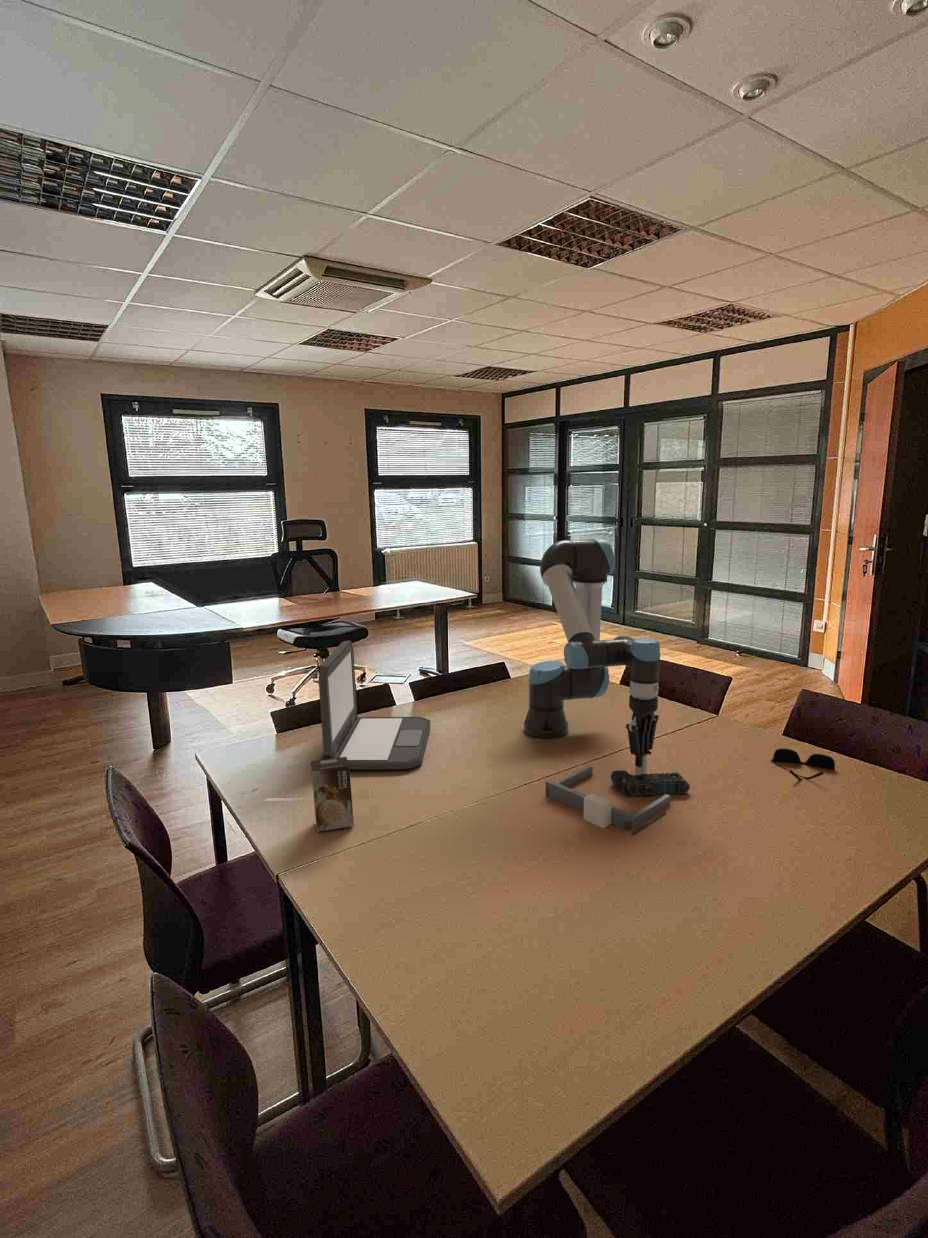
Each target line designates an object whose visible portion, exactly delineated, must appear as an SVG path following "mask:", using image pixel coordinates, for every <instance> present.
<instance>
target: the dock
mask: <svg viewBox="0 0 928 1238" xmlns="http://www.w3.org/2000/svg"><path fill="white" fill-rule="evenodd" d="M593 768H594V767H593V766H592V765H590V764H589V765H587V766H585V767H583V768H581V769H579V770H577V771H574V772H572V773H571V774H568V775H567V776H564V777H562V778H561V779H559V780H556V781H553V780H552V779H548V780H546V781H545V796H547V797H548V798H550V799H553V800H555V801H558V802H560V803H562V804H565V805H567V806H569V807H571V808H573V809H575V810H577V811H580V812H582V813H583V820H584V821H586V822H589V823H591V824H593V825H595V826H597V827H600V828H602V829H604V828H606V827H608V826H609V825H613V826H616V827H618V828H619V829H620V828H621V829H622V830H625V831H627V832H629V831H630V830H632V829H634V828H635V827H637V826H638V825H639V824H641V823H642V822H644V821H646V820H647V819H649V818H651V817H652V816H653V815H654V814H657V813H658V812H660V811H661V810H663V809H664V808H665V807H668V806H669V805H670V804H671V794H666V793H665V794H664V795H662V796H661V797H659V798H658V799H656V800H654V801H653V802H651V803H650V804H648V805H646V806H645V807H643V808H642V809H640V810H638V811H637V812H635V813H633V814H632V813H630V812H628V811H625V810H623V809H621V808H618V807H616V806H613V805H612V804H613V803H612V802H613V801H611V800H609V799H606V798H604V797H601V796H598V795H596V794H594V793H589V794H588V795H587V794H584V793H583V792H580V791H577V790H575V789H573V788H570V787H572V786H573V785H575V784H577V783H580V782H581V781H583V780H584V779H585V780H586V779H587V778H588V777H590V776H593V774H594V773H593V770H594V769H593ZM666 814H667V812H666V811H665V810H664V811H663V812H661V813H660V814H658V815H656V816H654V817H653V818H652V819H650V820H649V821H646V822H645V823H644V824H642V825H641V826H639V827H638V828H636V829H635V830H634V831H631V833H630V834H631V836H635V835H637V834H638V833H640V832H641V831H642V830H644V829H646V828H647V827H649V826H650V825H652V824H653V823H655V822H656V821H658V820H659V819H661V818H662V817H663V816H665V815H666Z"/></svg>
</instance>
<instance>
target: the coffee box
mask: <svg viewBox="0 0 928 1238" xmlns="http://www.w3.org/2000/svg"><path fill="white" fill-rule="evenodd" d="M310 767H311V770H310V771H311V779H312V791H313V801H314V802H313V804H314V805H313V806H314V815H315V824H316V831H317V832H325V831H331V830H335V829H342V828H343V829H344V828H350V827H354V826H355V823H354V822H355V819H354V811H353V810H354V809H353V796H352V795H353V794H352V784H351V783H352V782H351V771H350V770H351V769H349V763H348V760H347V757H339V758H331V759H324V760H319V759H318V760H310Z"/></svg>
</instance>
